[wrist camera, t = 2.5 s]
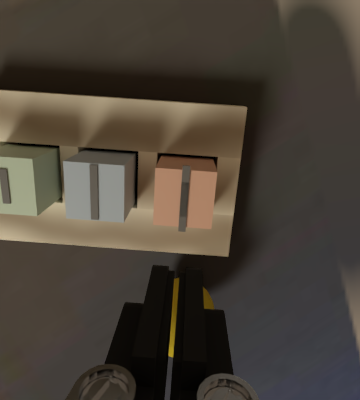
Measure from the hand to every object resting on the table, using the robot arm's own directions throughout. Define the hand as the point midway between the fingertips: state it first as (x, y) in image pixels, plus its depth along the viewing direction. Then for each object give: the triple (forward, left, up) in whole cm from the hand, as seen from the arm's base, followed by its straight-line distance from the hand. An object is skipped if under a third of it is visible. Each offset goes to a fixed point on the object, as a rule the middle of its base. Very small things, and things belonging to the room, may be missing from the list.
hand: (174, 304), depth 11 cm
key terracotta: (0, 0, -15) cm, 15 cm away
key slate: (0, -6, -15) cm, 16 cm away
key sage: (0, -12, -15) cm, 19 cm away
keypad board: (0, -6, -17) cm, 18 cm away
